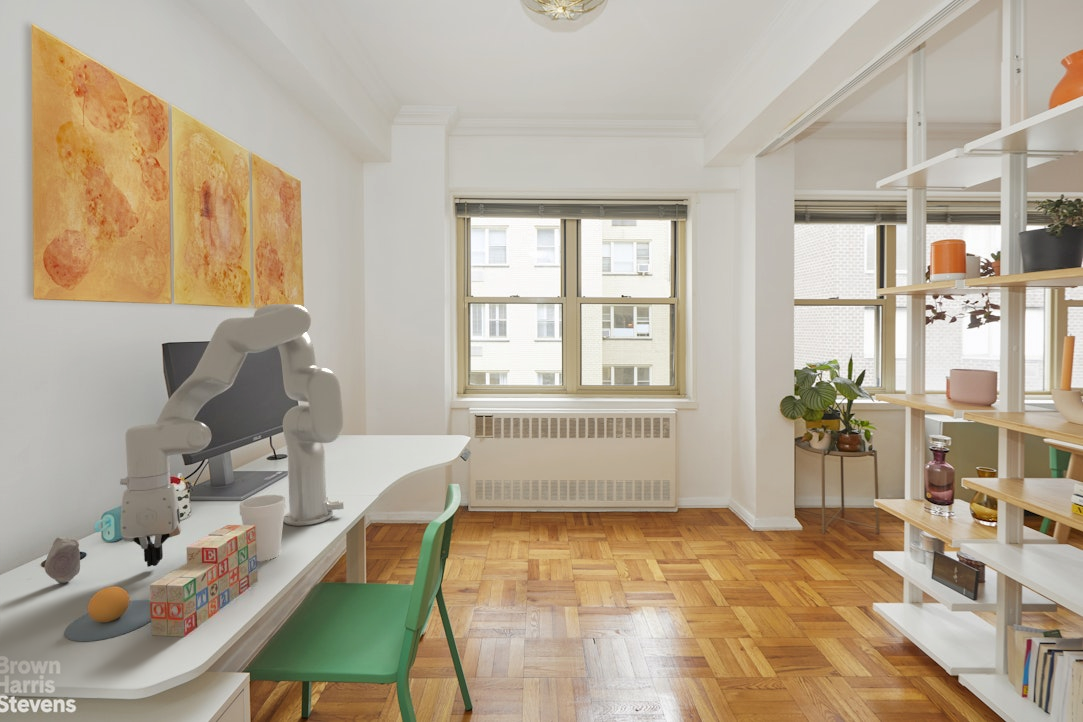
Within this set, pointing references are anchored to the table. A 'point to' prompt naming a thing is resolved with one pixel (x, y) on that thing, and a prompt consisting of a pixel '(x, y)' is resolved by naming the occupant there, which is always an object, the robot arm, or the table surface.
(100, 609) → the ball
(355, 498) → the table surface
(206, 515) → the table surface
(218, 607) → the stack of blocks
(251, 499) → the foam cup
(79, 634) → the disc
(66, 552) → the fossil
